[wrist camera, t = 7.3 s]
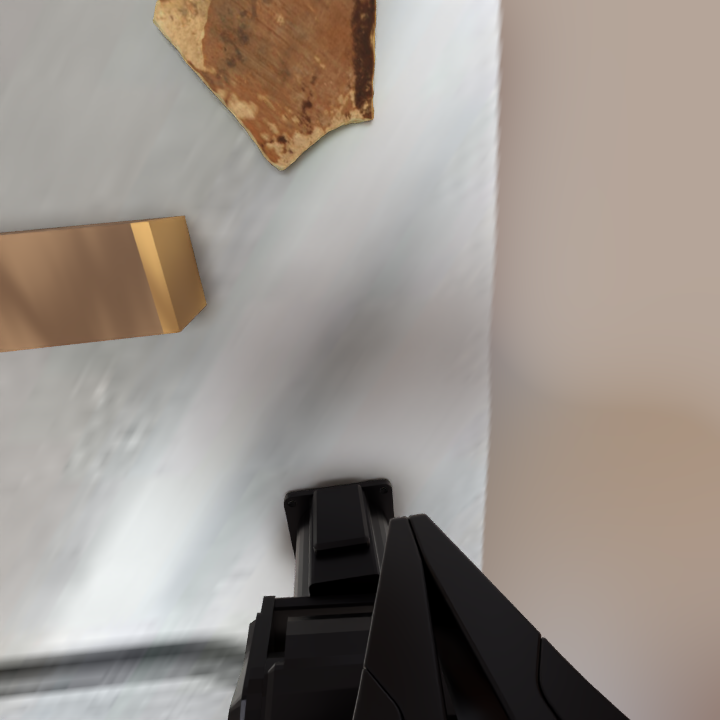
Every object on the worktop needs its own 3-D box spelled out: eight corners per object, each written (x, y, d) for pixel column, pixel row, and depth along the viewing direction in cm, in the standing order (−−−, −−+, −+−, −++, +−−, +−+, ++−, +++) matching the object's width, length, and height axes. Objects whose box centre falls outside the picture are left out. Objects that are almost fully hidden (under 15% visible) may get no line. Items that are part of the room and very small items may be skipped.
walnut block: (180, 332, 15) (-71, 360, 14) (207, 304, 18) (8, 326, 18) (148, 221, 13) (-136, 248, 13) (184, 215, 17) (-35, 236, 16)
